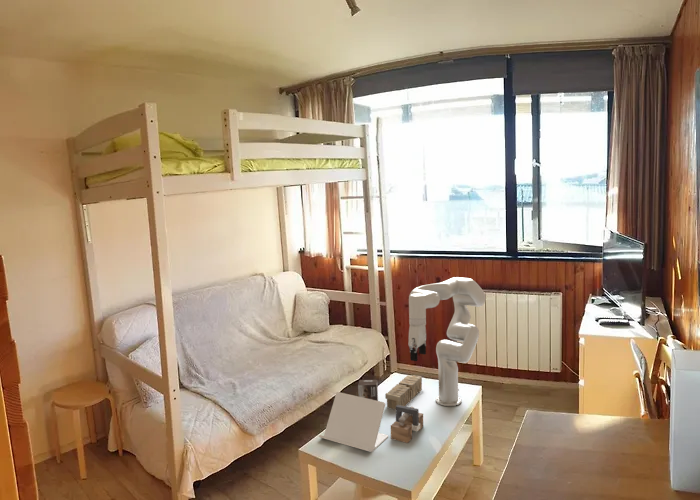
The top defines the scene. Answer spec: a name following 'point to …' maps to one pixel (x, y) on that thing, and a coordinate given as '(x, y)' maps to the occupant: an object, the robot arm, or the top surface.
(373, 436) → the tablet stand
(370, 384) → the coffee box
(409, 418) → the wooden handle frame
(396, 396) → the block tower
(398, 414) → the grey c-shaped block
